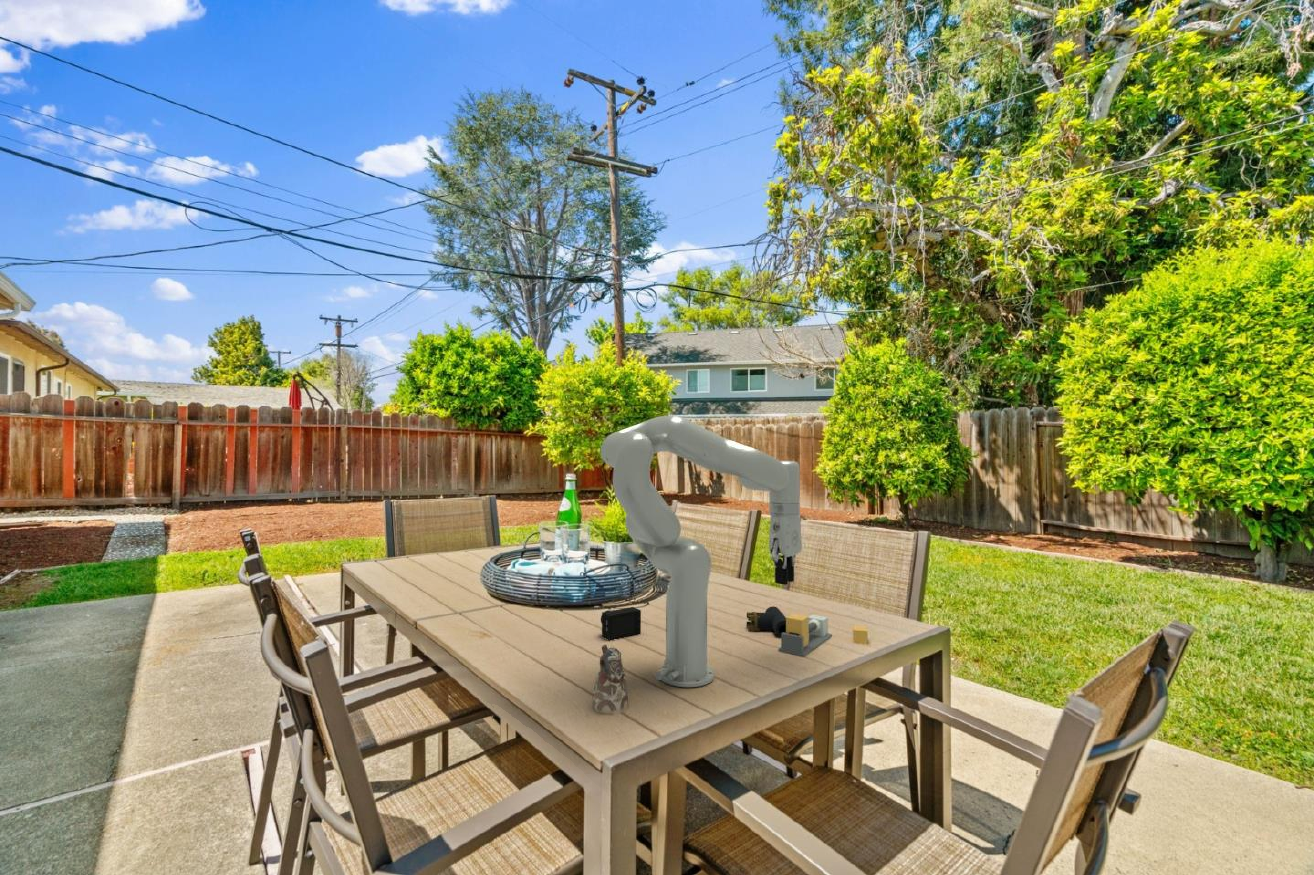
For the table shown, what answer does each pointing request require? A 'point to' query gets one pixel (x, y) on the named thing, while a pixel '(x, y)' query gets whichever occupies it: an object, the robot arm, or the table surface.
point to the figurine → (610, 684)
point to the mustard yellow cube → (860, 634)
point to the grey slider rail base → (816, 637)
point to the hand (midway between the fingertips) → (784, 581)
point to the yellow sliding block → (798, 626)
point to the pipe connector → (767, 621)
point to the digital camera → (621, 623)
